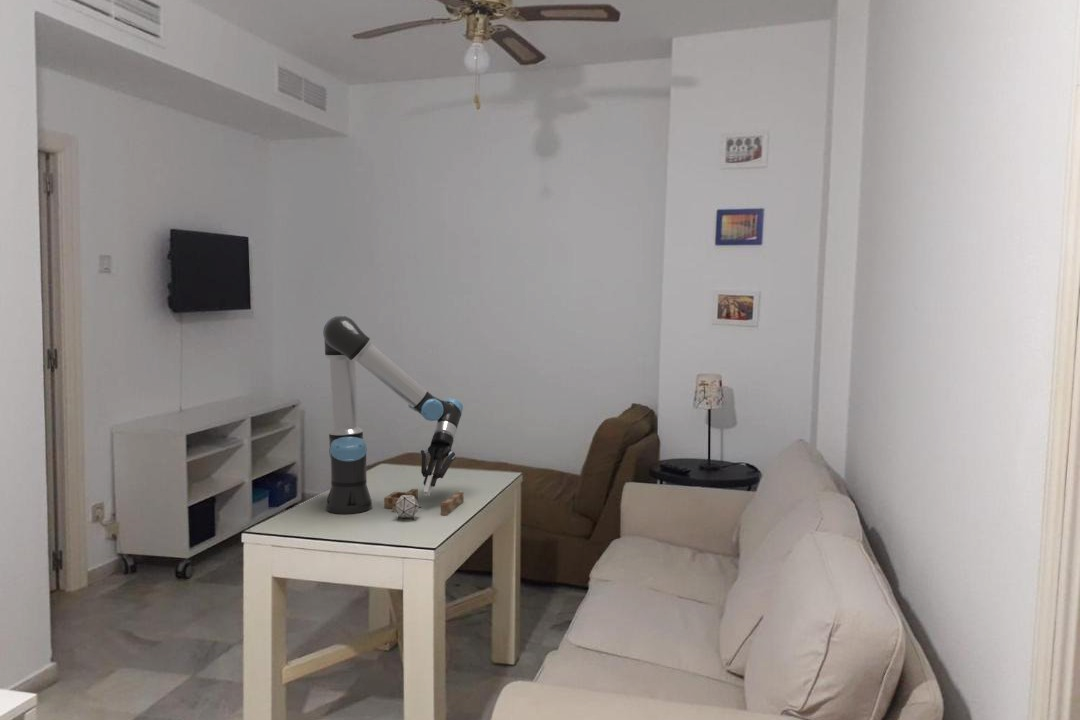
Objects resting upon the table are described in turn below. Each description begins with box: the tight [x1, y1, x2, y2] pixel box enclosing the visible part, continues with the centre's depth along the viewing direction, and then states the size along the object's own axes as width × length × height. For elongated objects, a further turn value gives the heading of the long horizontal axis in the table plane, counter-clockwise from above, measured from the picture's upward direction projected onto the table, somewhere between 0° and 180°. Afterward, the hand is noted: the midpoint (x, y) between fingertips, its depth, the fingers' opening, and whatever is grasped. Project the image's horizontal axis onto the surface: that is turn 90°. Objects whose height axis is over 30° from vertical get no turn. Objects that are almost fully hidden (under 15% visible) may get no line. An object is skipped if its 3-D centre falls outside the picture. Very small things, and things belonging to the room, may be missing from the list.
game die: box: [393, 493, 422, 520], centre depth 252 cm, size 9×8×10 cm
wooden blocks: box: [383, 488, 464, 516], centre depth 267 cm, size 18×24×4 cm
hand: (426, 493), depth 263 cm, fingers closed
